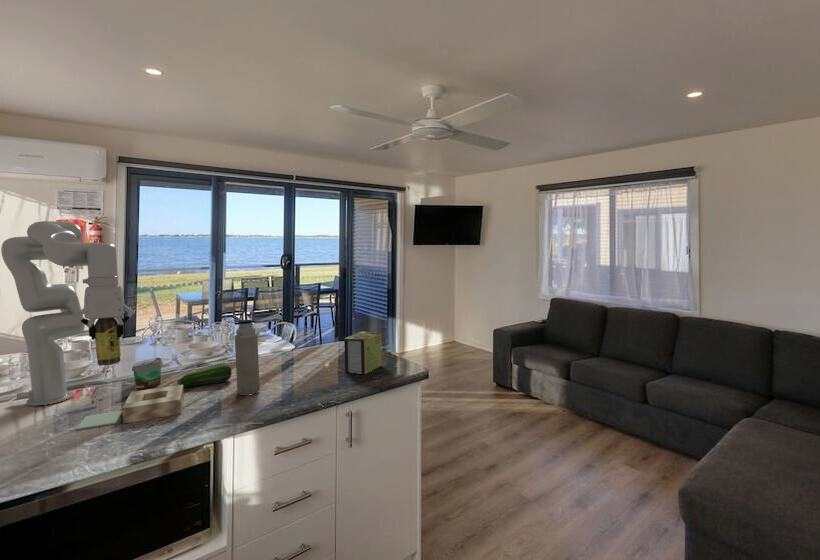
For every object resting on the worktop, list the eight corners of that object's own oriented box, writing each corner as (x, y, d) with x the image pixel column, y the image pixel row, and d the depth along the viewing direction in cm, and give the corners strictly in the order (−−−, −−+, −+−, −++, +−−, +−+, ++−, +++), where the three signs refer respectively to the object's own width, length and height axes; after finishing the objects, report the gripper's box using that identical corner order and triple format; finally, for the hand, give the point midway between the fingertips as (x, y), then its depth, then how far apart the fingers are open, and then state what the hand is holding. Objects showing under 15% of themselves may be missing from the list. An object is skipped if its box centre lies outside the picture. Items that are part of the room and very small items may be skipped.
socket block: (123, 423, 128) (122, 408, 128) (132, 405, 143) (131, 391, 142) (180, 413, 135) (180, 399, 135) (183, 397, 150) (183, 384, 149)
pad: (76, 430, 124) (76, 428, 124) (85, 417, 133) (85, 416, 133) (116, 423, 128) (116, 422, 128) (122, 411, 137) (122, 410, 137)
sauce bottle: (114, 365, 129) (109, 304, 126) (93, 367, 128) (86, 304, 125) (125, 359, 135) (120, 300, 133) (104, 360, 134) (99, 301, 132)
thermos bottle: (249, 387, 160) (245, 317, 158) (264, 390, 157) (261, 319, 154) (232, 394, 153) (229, 321, 150) (248, 397, 150) (244, 322, 147)
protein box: (381, 365, 187) (381, 332, 186) (364, 375, 173) (364, 340, 172) (362, 363, 192) (361, 330, 190) (344, 372, 178) (343, 338, 176)
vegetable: (230, 361, 166) (175, 368, 158) (231, 379, 164) (175, 387, 156) (231, 365, 172) (177, 372, 165) (232, 382, 170) (178, 389, 162)
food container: (146, 392, 156) (144, 366, 155) (133, 391, 157) (131, 365, 156) (171, 381, 168) (169, 357, 167) (158, 380, 169) (157, 357, 168)
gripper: (65, 284, 121) (69, 343, 123) (134, 282, 129) (137, 337, 131) (72, 282, 128) (76, 337, 130) (137, 280, 136) (140, 332, 138)
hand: (107, 337), depth 130 cm, fingers closed on sauce bottle, 6 cm apart
